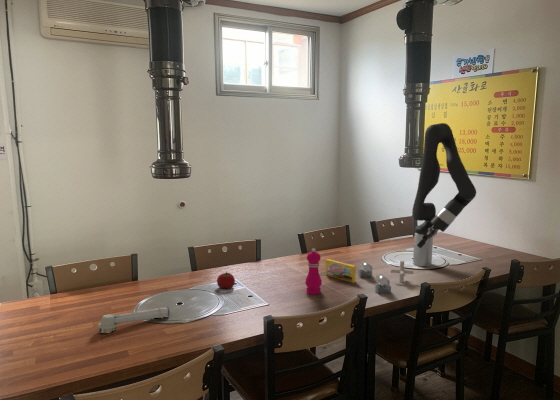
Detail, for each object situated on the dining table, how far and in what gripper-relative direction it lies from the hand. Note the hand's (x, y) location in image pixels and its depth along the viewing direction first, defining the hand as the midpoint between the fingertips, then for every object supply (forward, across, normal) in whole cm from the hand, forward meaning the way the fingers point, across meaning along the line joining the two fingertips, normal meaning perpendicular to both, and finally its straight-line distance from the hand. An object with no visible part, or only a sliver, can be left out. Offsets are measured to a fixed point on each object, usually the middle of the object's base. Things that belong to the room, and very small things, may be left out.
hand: (418, 246), depth 195 cm
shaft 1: (+27, +7, -8) cm, 29 cm away
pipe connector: (+18, +5, +6) cm, 19 cm away
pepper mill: (+42, +35, -15) cm, 57 cm away
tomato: (+67, +49, -43) cm, 94 cm away
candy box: (+35, +14, -15) cm, 41 cm away
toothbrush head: (+82, +93, -41) cm, 131 cm away
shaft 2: (+24, +21, +4) cm, 32 cm away
